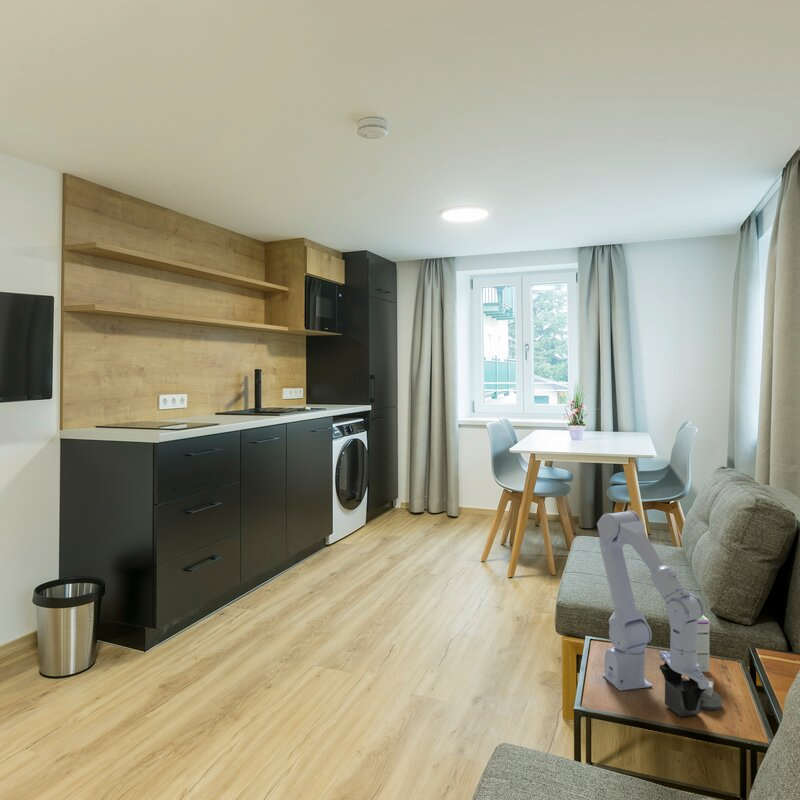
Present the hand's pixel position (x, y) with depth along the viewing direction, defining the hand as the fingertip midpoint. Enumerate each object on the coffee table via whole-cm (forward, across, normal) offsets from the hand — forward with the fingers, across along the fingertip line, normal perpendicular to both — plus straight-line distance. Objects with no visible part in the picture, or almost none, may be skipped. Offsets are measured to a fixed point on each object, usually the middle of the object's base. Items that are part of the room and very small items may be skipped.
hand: (682, 702), depth 137 cm
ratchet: (+2, +5, -11) cm, 12 cm away
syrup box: (+2, +18, -18) cm, 25 cm away
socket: (+1, 0, 0) cm, 1 cm away
